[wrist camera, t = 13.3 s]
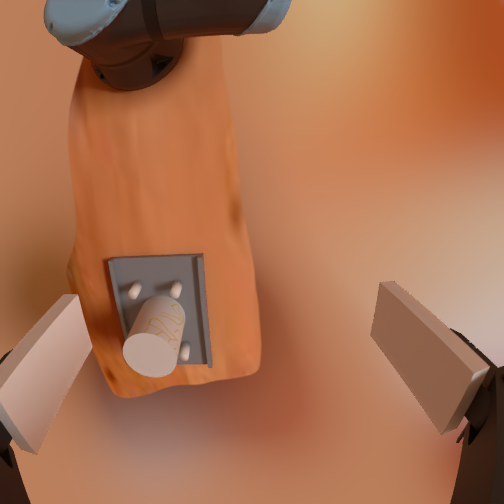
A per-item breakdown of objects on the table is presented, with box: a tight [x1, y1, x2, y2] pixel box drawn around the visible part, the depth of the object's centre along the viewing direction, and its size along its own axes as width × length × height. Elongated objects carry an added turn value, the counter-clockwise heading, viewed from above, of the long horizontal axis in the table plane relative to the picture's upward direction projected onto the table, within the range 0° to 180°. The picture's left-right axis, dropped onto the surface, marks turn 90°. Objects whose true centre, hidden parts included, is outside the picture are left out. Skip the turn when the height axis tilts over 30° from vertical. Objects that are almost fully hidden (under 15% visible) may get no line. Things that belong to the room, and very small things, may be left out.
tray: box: [108, 253, 212, 368], centre depth 50 cm, size 22×16×5 cm
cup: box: [123, 295, 185, 377], centre depth 45 cm, size 8×8×12 cm
